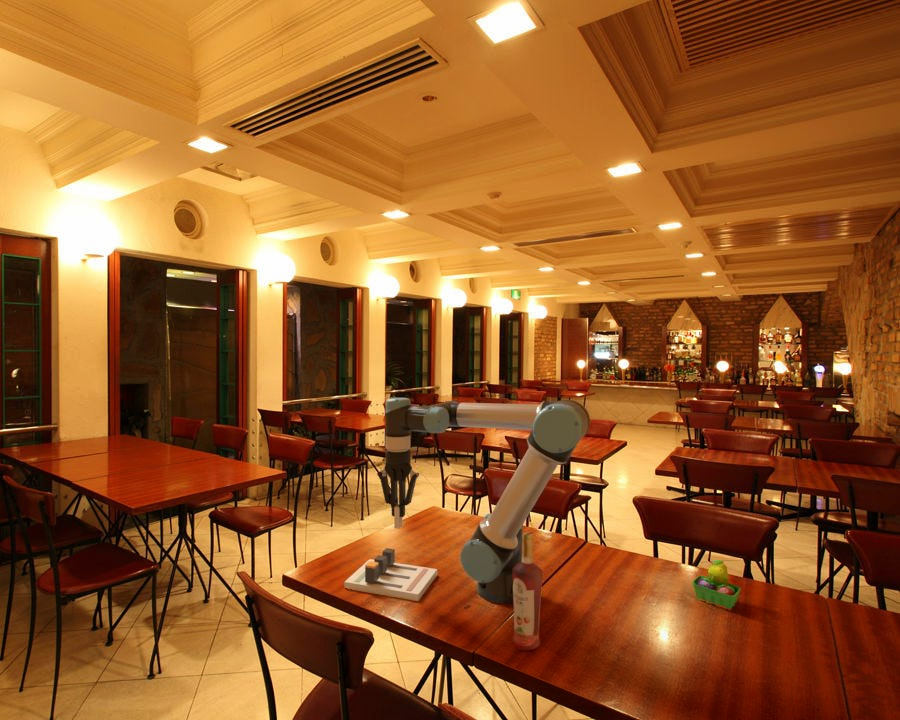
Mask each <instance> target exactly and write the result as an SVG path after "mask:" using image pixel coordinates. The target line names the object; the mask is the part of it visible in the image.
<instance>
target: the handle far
mask: <svg viewBox="0 0 900 720" xmlns="http://www.w3.org/2000/svg"><path fill="white" fill-rule="evenodd" d="M395 551H396V550H395V548H390V547H389V548H388V547H386V548H384V550H383V551H382V552H381V553H382V555H381V556H386V557H387V566H390V567H391V566H392V565H393V564H394V563H396V562H395V561H396V560H395V559H396V557H395V555H396V553H395Z"/></svg>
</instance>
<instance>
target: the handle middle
mask: <svg viewBox="0 0 900 720" xmlns="http://www.w3.org/2000/svg"><path fill="white" fill-rule="evenodd" d="M373 560H374V562H378V563H379V574H382V575H383V574H384V573H385V572H386V571H387V557H386V556H382V555H380V554H379V555H377V556H376V557H375V558H374V559H373Z"/></svg>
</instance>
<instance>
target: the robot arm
mask: <svg viewBox="0 0 900 720" xmlns="http://www.w3.org/2000/svg"><path fill="white" fill-rule="evenodd" d="M384 409H385V412H384V415H385V417H384V418H385V445H384V447H385V449H386V450H385V465H384V467H383V468H384V469H381V470H380V471H378V472H377V473H376V475H377V477H378V478H379V480H380V484H381V485H380V486H381V488H382V492H383V493H382V494H383V497H384V501H385V504H387V505H388V504H389V505H390V506H391V516H392V517H394V518H393V519H394V523H393V524H394V525H393V526H394V527H393V528H394V529H397V530H399V529H401V528H402V527H403V518H404V517H405V515H406V506H408V505H410V504H411V503H412V500H413V496H414V492H415V491H414V490H415V486H416V482H417V480H418V478H419V477H420V473H419V472H415V470H414V469H413V467H412V465H411V464H412V463H411V459H412V458H411V457H412V455H411V453H412V452H411V433H412V432H421V433H431V434H442V433H445V432H446V431H447V429H448V427H455V428H456V427H462V428H463V427H464V428H481V429H498V430H500V429H503V430H517V431H520V430H521V431H530V433H529V434H528V437H527V438H526V442H527V446H528V448H527V450H526V452H525V454H524V456H523V457H522V459H521V460H520V463H519V464H518V467H517V468H516V470H515V472H514V473H513V475H512V477H511V478H510V480H509V482H508V484H507V486H506V487H505V489H504V491H503V493H502V494H501V496H500V497H499V500H498V501H497V503H496V504H495V507H494V508H493V510H492V512H490V513H488V514H485V515H484V517H483V518H482V519H481V520H480V522H479V523H478V525H477V526H476V529H475V530H474V532H473V534H472V536H471V538H470V539H469V540H467V542H465V543H463V544H464V545H463V546H462V548H461V549H460V554H459V558H460V559H459V561H460V563H461V566H462V569H463V571H464V572H465V573H466V575H467V576H468V577H470V578H471V580H474V581H476V583H477V584H476V586H477V587H476V590H477V593H478V595H479V596H480V597H481V598H483V599H485V600H486V601H489V602H492V603H496V604H514V600H513V572H512V569H513V567H514V566H516V565H517V564H519V563H521V562H522V553H523V541H522V533H523V531H524V528H523V525H524V523H525V522H526V521H527V518H528V517H529V515H530V513H531V512H532V510H533V508H534V506H535V505H536V503H537V501H538V500H539V497H540V496H541V494H542V493H543V491H544V490H545V488H546V486H547V484H548V482H549V481H550V480H551V477H552V476H553V474H554V473H555V471H556V469H557V467H558V466H559V465H563V464H567V462H568V461H569V459H570V457H571V456H572V455H573V453H574V451H575V449H576V447H577V445H578V444H579V442H580V441H581V440H582V439H583V438H584V437H585V436H586V435H587V434H588V432H589V430H590V427H591V417H590V415H589V411H588V410H587V408H586V407H585V406H584V405H583V404H581V403H580V402H578V401H576V400H574V399H573V400H572V399H563V400H562V399H561V400H551V401H550V400H548V401H547V400H546V401H545V400H543V401H542V402H541V403H540V404H533V403H532V404H530V403H529V404H526V403H524V404H523V403H522V404H521V403H492V402H491V403H489V402H488V403H486V402H458V401H454V400H446V401H443V402H439V403H436V404H435V403H434V404H431V405H425V406H424V405H413V404H411V399H410V398H407V397H392V398H388V399H387V400H386V401H385V408H384ZM388 477H389V481H388ZM408 477H409V483H408V487H407V489H406V482H407V478H408Z"/></svg>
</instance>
